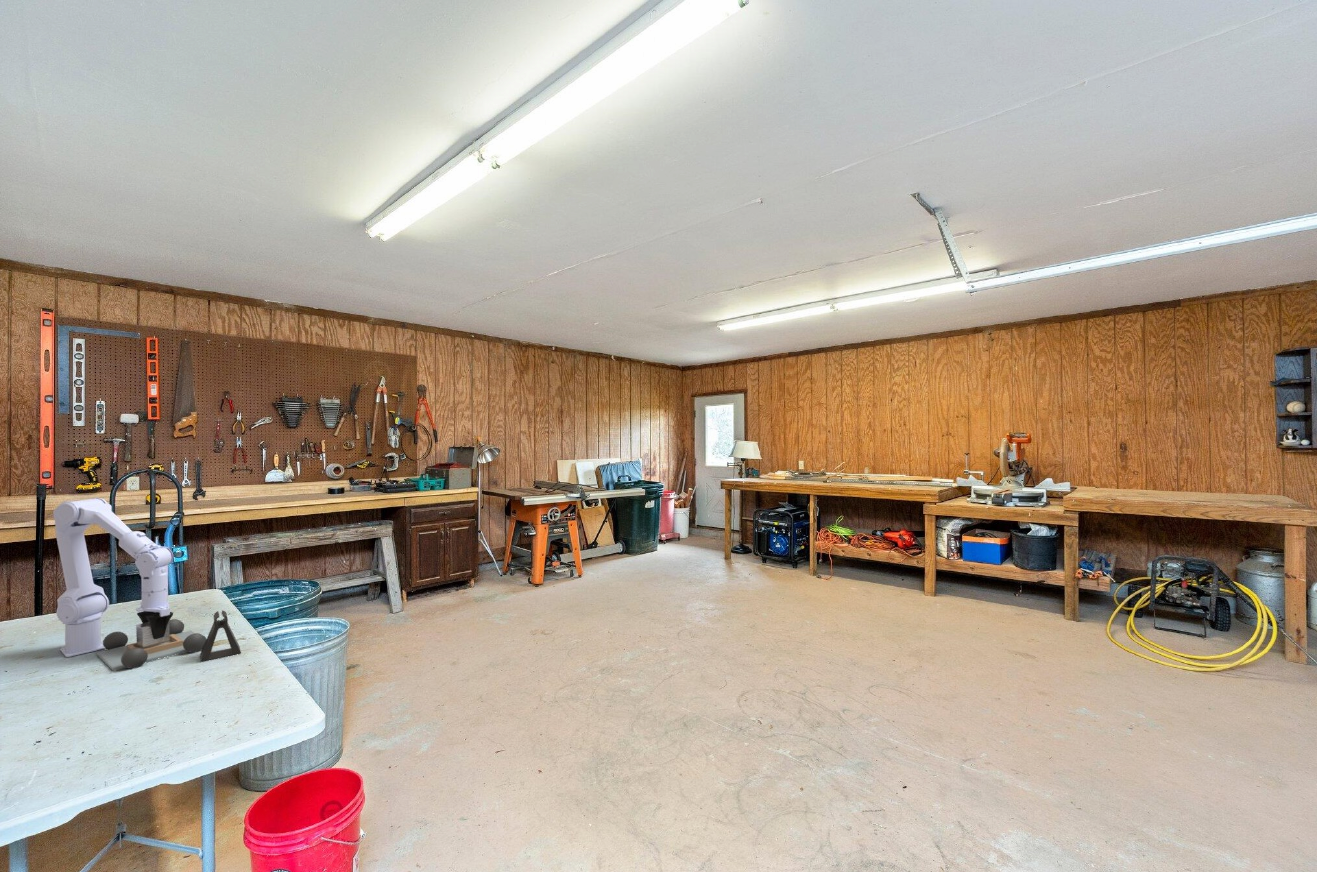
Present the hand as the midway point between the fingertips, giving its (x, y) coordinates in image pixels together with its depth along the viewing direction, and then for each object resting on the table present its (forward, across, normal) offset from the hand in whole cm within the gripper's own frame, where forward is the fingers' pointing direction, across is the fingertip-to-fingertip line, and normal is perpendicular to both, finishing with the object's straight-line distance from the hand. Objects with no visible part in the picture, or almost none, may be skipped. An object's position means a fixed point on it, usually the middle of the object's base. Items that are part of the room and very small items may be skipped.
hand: (155, 636), depth 160 cm
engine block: (+2, 0, 0) cm, 2 cm away
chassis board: (+4, 0, 0) cm, 4 cm away
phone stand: (+4, +20, +8) cm, 22 cm away
